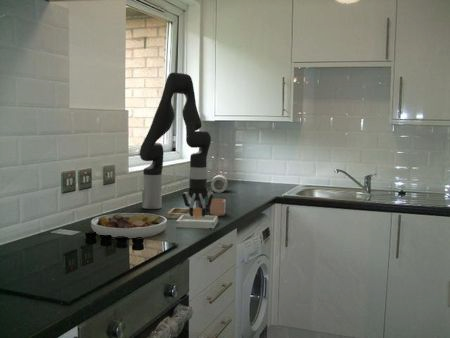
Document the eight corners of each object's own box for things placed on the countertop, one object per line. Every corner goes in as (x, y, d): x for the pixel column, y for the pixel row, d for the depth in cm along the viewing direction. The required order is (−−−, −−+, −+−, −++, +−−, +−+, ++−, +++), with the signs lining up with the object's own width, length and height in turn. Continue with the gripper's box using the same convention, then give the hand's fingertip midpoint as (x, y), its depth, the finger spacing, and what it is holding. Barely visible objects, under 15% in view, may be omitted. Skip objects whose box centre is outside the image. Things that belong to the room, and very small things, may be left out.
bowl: (98, 224, 213) (98, 206, 212) (168, 224, 215) (168, 206, 214) (83, 241, 183) (83, 220, 183) (164, 241, 185) (164, 220, 185)
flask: (196, 210, 247) (196, 189, 246) (194, 209, 249) (195, 188, 248) (214, 209, 250) (214, 189, 248) (212, 208, 252) (212, 188, 251)
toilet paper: (211, 190, 318) (212, 174, 317) (227, 190, 318) (227, 175, 316) (210, 192, 308) (211, 176, 307) (226, 192, 308) (227, 177, 307)
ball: (191, 218, 212) (191, 208, 212) (193, 216, 217) (193, 206, 216) (202, 218, 212) (202, 208, 211) (203, 216, 216) (203, 206, 216)
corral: (167, 217, 227) (167, 213, 227) (173, 212, 241) (173, 207, 241) (201, 219, 225) (201, 214, 225) (205, 213, 239) (205, 209, 239)
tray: (176, 227, 208) (176, 220, 208) (182, 220, 222) (182, 214, 222) (213, 228, 207) (213, 222, 207) (217, 221, 221) (217, 215, 220)
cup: (209, 215, 235) (209, 201, 234) (211, 212, 242) (211, 198, 241) (224, 216, 234) (224, 201, 233) (225, 213, 241) (225, 199, 240)
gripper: (180, 177, 209) (179, 217, 211) (213, 178, 208) (212, 218, 210) (183, 176, 217) (183, 214, 219) (215, 176, 215) (215, 215, 217)
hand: (197, 216), depth 214 cm, fingers closed on ball, 4 cm apart
